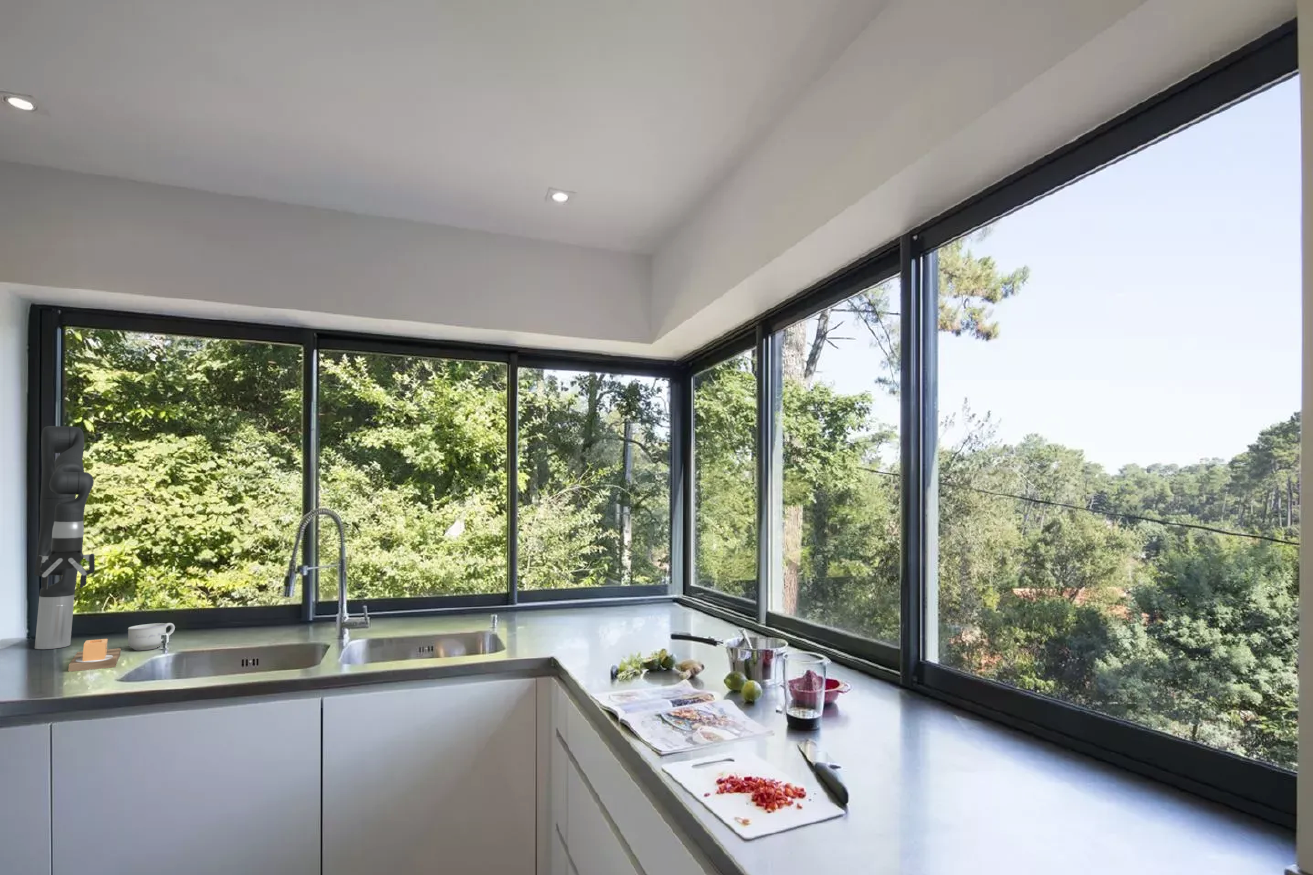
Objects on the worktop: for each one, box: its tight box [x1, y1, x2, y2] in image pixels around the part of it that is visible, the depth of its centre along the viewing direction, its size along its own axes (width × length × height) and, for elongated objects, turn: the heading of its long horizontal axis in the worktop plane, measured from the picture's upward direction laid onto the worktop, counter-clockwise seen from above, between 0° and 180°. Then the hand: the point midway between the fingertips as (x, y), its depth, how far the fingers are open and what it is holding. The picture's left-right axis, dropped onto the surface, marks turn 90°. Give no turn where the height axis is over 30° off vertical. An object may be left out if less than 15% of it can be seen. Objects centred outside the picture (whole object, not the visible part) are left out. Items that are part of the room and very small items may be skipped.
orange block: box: [82, 638, 109, 661], centre depth 214 cm, size 7×5×5 cm
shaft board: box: [67, 647, 122, 672], centre depth 218 cm, size 20×11×5 cm, turn 34°
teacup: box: [127, 622, 176, 651], centre depth 240 cm, size 14×11×8 cm
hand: (63, 588), depth 218 cm, fingers open, 8 cm apart
